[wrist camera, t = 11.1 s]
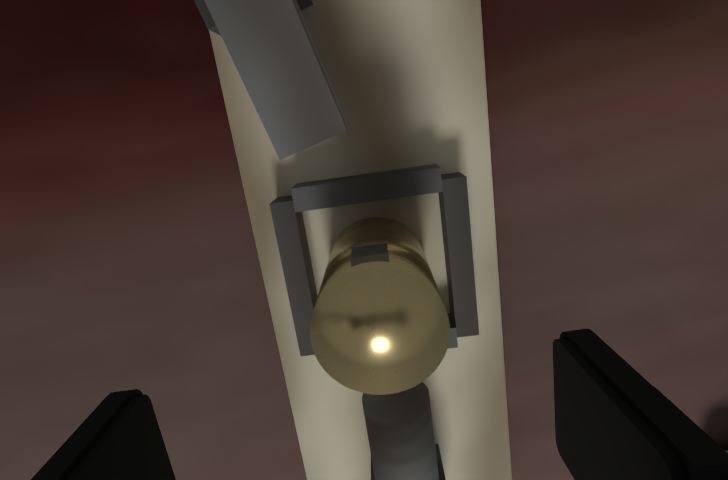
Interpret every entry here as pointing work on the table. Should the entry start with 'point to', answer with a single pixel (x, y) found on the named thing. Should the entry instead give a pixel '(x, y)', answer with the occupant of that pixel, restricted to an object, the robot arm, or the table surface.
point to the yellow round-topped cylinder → (379, 310)
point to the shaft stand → (372, 211)
